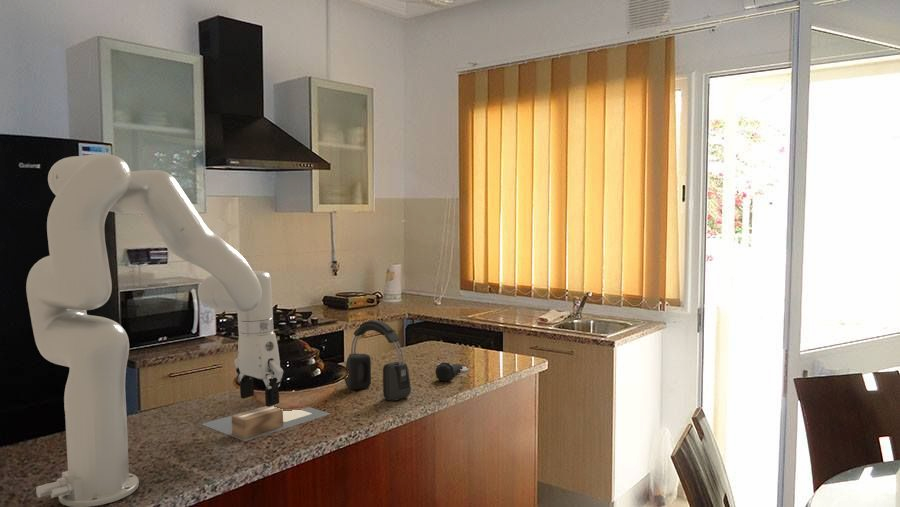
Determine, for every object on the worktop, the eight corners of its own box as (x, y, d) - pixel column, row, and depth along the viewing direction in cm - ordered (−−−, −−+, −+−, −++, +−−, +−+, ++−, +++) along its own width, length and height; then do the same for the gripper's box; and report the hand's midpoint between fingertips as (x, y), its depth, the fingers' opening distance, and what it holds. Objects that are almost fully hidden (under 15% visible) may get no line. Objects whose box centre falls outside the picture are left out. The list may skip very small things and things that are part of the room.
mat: (244, 443, 139) (244, 440, 139) (200, 426, 151) (200, 423, 151) (331, 416, 158) (331, 413, 158) (286, 402, 169) (286, 400, 169)
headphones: (342, 388, 183) (341, 318, 182) (359, 383, 188) (358, 315, 186) (396, 403, 168) (395, 327, 167) (413, 398, 173) (412, 324, 171)
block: (244, 438, 141) (244, 419, 141) (232, 433, 144) (231, 415, 144) (283, 426, 149) (282, 408, 149) (270, 422, 152) (269, 404, 152)
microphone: (456, 377, 207) (435, 385, 188) (452, 359, 207) (430, 366, 189) (472, 372, 205) (452, 380, 186) (467, 355, 206) (447, 361, 187)
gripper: (293, 327, 143) (296, 403, 144) (248, 319, 154) (252, 390, 155) (264, 334, 137) (268, 413, 138) (219, 325, 148) (223, 398, 149)
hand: (259, 400), depth 147 cm, fingers open, 9 cm apart
